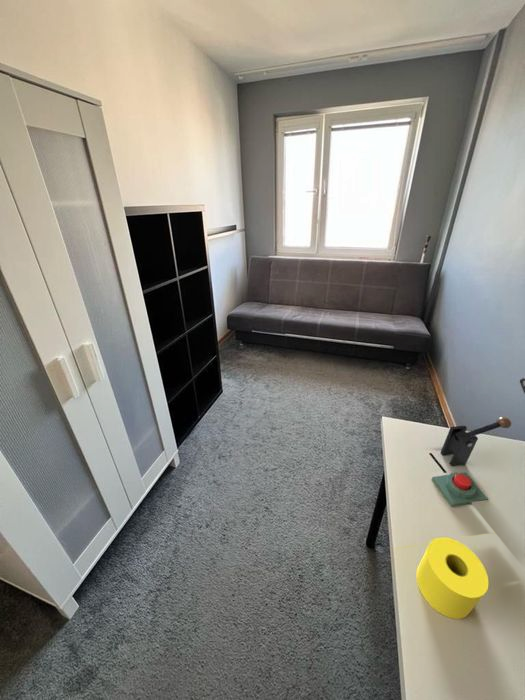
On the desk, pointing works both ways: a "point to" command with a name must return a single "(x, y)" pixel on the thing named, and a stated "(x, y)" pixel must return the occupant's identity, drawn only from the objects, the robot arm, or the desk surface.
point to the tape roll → (451, 578)
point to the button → (462, 482)
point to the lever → (484, 428)
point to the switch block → (457, 490)
